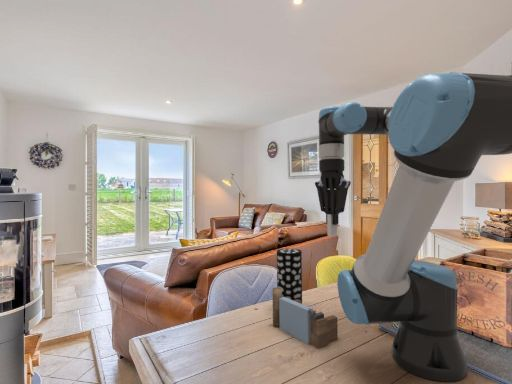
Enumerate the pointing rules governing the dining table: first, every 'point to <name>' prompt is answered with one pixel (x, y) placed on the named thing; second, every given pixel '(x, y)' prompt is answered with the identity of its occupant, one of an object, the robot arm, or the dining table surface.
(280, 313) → the gate
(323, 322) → the pair of brown blocks
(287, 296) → the white-spotted black cylinder
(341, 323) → the dining table surface
